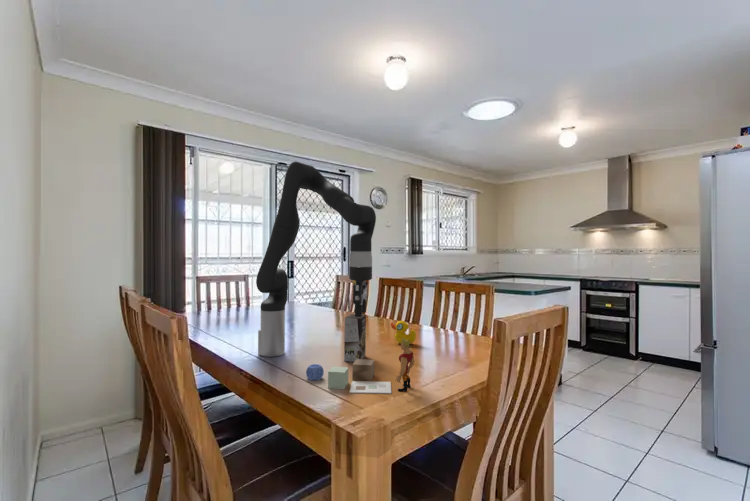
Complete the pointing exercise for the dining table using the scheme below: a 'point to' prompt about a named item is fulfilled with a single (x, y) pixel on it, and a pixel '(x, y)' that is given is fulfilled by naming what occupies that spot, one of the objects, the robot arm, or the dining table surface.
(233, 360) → the dining table surface
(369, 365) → the base block
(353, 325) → the coffee box
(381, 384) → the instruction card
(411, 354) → the action figure
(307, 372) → the decorative dice
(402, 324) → the duckling
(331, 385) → the sage cube
